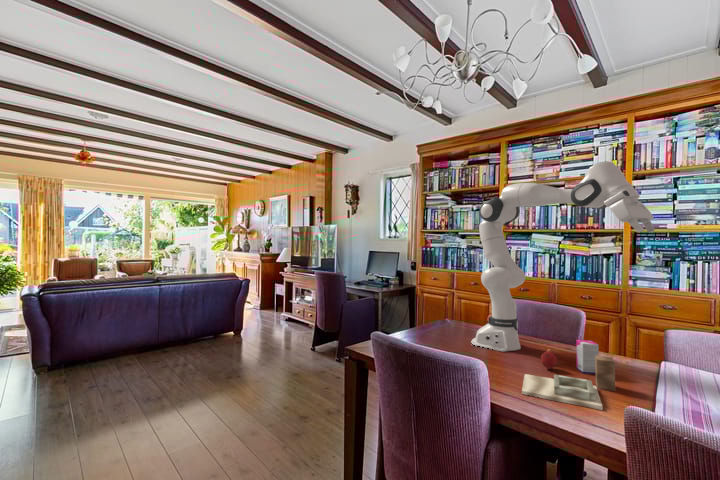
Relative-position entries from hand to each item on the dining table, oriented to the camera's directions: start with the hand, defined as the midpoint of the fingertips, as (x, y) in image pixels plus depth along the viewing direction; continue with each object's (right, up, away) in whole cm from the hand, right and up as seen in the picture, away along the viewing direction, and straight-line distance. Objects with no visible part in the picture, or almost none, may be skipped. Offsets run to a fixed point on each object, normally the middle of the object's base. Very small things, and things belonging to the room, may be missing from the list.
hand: (646, 231), depth 114 cm
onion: (-23, -55, +18) cm, 62 cm away
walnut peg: (-13, -54, +2) cm, 56 cm away
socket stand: (-31, -55, -2) cm, 63 cm away
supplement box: (-10, -55, +16) cm, 58 cm away
